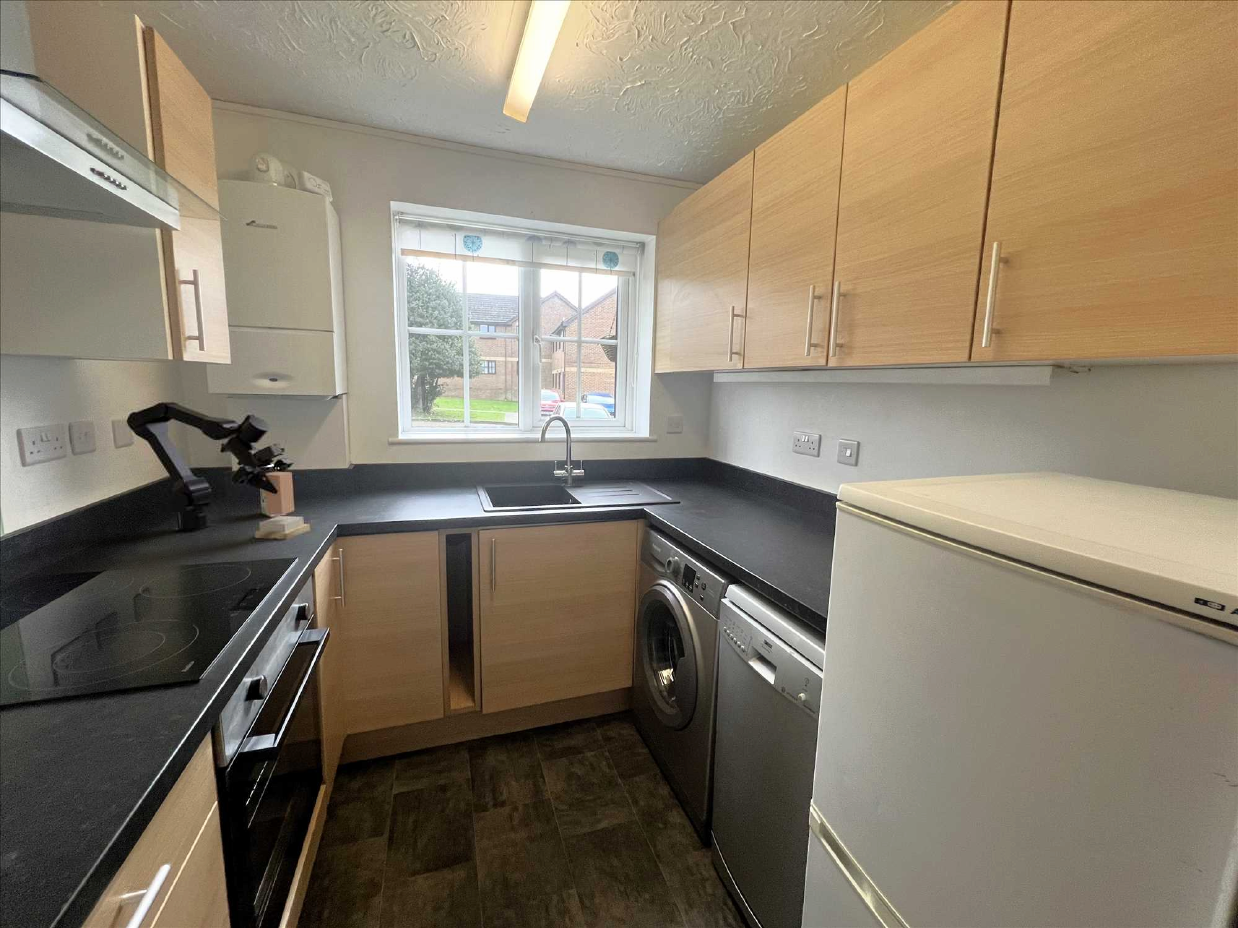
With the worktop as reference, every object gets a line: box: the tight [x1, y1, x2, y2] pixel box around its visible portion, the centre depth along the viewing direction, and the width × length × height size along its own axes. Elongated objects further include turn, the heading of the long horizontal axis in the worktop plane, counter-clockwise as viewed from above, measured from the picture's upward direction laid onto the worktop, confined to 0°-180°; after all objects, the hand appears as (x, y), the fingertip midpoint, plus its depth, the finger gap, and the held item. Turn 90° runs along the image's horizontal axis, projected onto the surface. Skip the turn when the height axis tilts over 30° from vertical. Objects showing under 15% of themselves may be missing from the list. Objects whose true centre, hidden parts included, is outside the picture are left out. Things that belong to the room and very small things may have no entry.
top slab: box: [258, 515, 305, 532], centre depth 157 cm, size 8×8×2 cm
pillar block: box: [265, 471, 295, 516], centre depth 155 cm, size 5×5×12 cm
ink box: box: [259, 489, 287, 518], centre depth 178 cm, size 9×5×12 cm, turn 53°
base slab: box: [254, 523, 311, 540], centre depth 157 cm, size 10×10×2 cm
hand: (283, 491), depth 155 cm, fingers closed on pillar block, 5 cm apart
